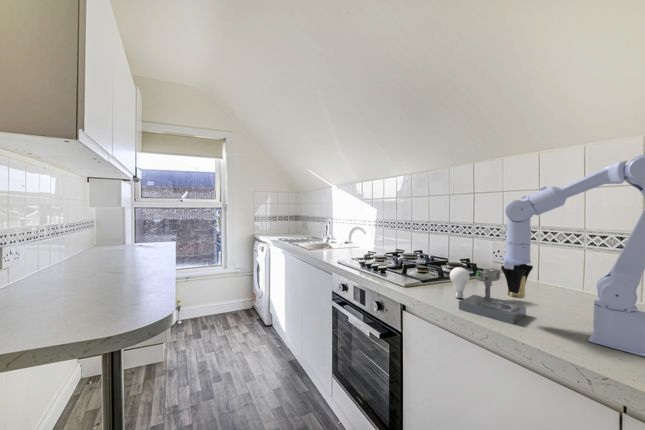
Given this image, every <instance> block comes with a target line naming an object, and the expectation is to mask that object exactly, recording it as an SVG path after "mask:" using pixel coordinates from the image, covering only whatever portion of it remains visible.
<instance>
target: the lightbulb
mask: <svg viewBox="0 0 645 430" xmlns="http://www.w3.org/2000/svg"><path fill="white" fill-rule="evenodd" d="M470 278H471V276H470V273H469V271H468V270H467V269H466V268H463V267H461V266H459V267H457V266H456V267H454V268H453V269H451V270H450V272H449V279H450V281H451V283H452V284H453V288H454V297H456V298H457V299H461V300H462V298H463V299H464V290H465V289H466V288H465V287H466V285H468V283H469V281H470Z"/></svg>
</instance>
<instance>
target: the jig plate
mask: <svg viewBox="0 0 645 430" xmlns="http://www.w3.org/2000/svg"><path fill="white" fill-rule="evenodd" d="M458 309H459V310H461V311H464V312H468V313H472V314H475V315H478V316H482V317H485V318H486V317H487V318H489V319H492V320H497V321H500V322H504V323H508V324H511V325H515V324H516V323H517V322H518V321H520V320H521V319H523V318H524V317H525V316H526V315H527V306H524V305H520V304H516V303H511V302H506V301H504V300H503V301H502V300H498V299H494V298H491V297H490V298H487V297H485V296H480V295H477V294H472V295H470V296H468V297H465V298H463V299H461V300H459V301H458Z"/></svg>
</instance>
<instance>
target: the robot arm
mask: <svg viewBox="0 0 645 430" xmlns="http://www.w3.org/2000/svg"><path fill="white" fill-rule="evenodd" d="M624 182H626V183H628V184H629V185H630V186H632V187H634V188H635V189H637V190H639V192H640V193H641V195H642V196H643V198H645V154H640V155H638V156H636V157H634V158H632V159H631V160H630V161H629V162H628V159H626V160H622V161H619V162H617V163H614V164H611V165H609V166H605V167H603V168H601V169H599V170H596V171H594V172H592V173H589V174H587V175H585V176H583V177H581V178H579V179H576V180H575V181H572V182H570V183H568V184H565V185H563V186H561V187H557V186H553V185H551V186H546V185H545V186H543V187H540V190H539V191H536V192H534V193H532V194H530V195H528V196H527V195H523V196H521V197H520V199H516V200H512V201H511V202H509V204H508V205H507V206H506V207H505V215H506V217H507V220H506V223H507V225H506V236H505V239H506V240H505V241H506V242H505V256H501V257H500V260H502V261H504V262H503V263H504V265H501V266H500V267H501V268H500V270H501V271H502V273H503V274H504V276H505V280H506V285H507V291H508V290H509V292H512V293H517V294H518V292H519V290H520V285H521V280H522V277H523V275H525V276H526V277H525V285H526V284H527V280H528V277H529V276H530V273H531V271H532V270H533V268H534V266H533V265H531V264H532V261H531V243H532V240H531V239H532V227H531V221H532V220H531V218H532V217H533V216H539V215H541V214H545V213H547V212H550V211H552V210H555V209H557V208H560V207H562V206H564V205H565V204H566V201H567V199H568V198H571V197H574V196H577V195H579V194H582V193H585V192H587V191H589V190H593V189H595V188H598V187H600V186H604V185H621V184H623V183H624ZM644 272H645V208H643V210H642V212H641V214H640V216H639V218H638V219H637V222H636V223H635V225H634V228H633V229H632V231H631V232H630V235H629V236H628V238H627V241H626V242H625V244H624V246H623V247H622V249H621V251H620V253H619V255H618V257H617V259H616V261H615V263H614V264H613V265H612V267H610V269H609V271H608V273H606V275H604V276H602V277H600V278H599V280H598V281H597V283H596V290H597V297H598V298H596V299H595V300H593V301H594V302H593V321H592V322H593V326H592V333H591V335H590V336H589V338H588V342H590V343H594V344H596V345H601V346H605V347H608V348H612V349H615V350H619V351H622V352H626V353H629V354H630V353H631V354H633V355H637V356H641V357H643V358H644V357H645V312H644V311H641V310H639V309H638V307H637V306H638V305H636V303H638V294H637V290H638V288H639V285H640V283H641V281H642V276H643V273H644Z"/></svg>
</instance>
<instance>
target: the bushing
mask: <svg viewBox="0 0 645 430" xmlns="http://www.w3.org/2000/svg"><path fill="white" fill-rule="evenodd" d="M525 277H526V276H525V275H523V277H522V280H521V285H520V290H519V292H518V294H517V293H512V292H509V290H508V289H507V296H509V297H511V298H514V299H525V297H526V284H525Z"/></svg>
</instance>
